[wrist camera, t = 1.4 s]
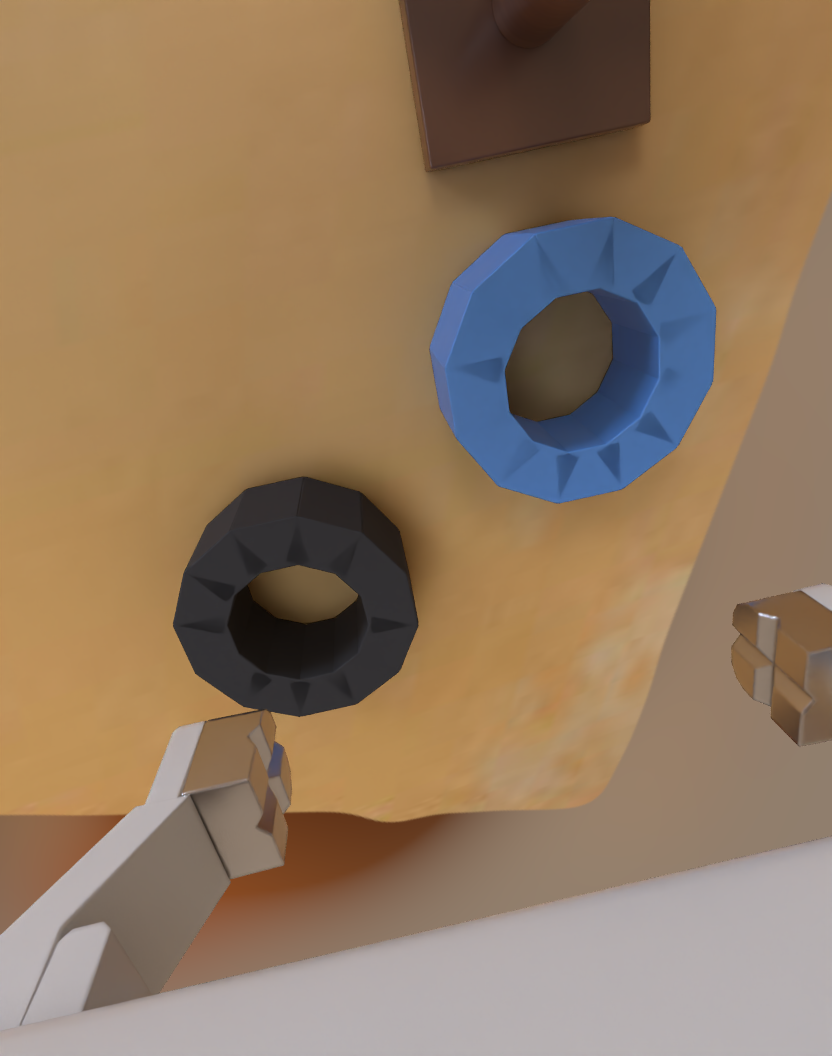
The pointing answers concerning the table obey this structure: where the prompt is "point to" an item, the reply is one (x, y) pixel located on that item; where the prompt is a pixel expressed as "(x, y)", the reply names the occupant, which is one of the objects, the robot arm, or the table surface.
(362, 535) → the ring
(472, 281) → the blue tape
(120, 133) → the table surface
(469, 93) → the wooden stand
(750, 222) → the table surface
